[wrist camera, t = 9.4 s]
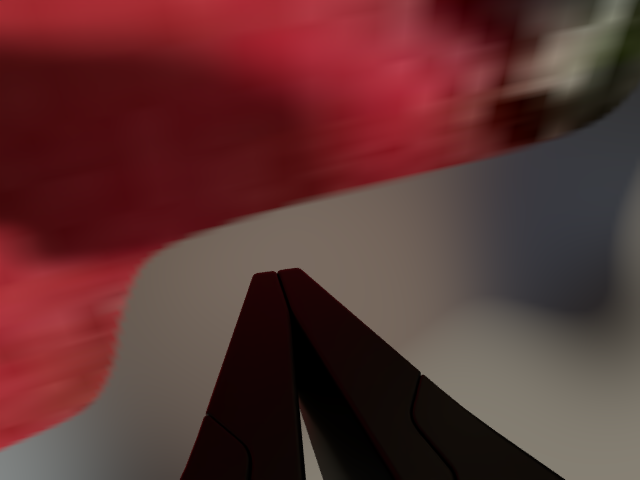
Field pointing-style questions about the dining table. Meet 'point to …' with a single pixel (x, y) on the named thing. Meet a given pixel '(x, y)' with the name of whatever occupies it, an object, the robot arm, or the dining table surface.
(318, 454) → the robot arm
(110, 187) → the dining table surface
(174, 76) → the dining table surface
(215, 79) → the dining table surface
